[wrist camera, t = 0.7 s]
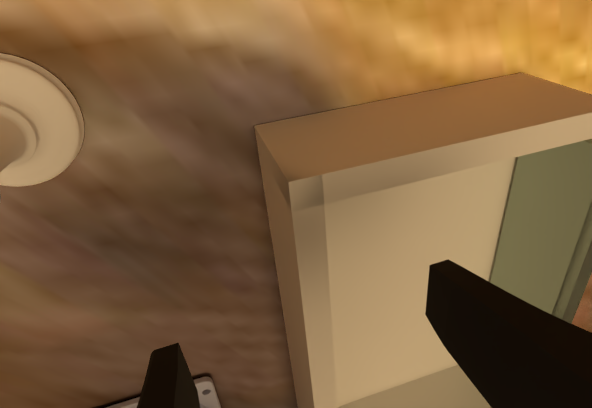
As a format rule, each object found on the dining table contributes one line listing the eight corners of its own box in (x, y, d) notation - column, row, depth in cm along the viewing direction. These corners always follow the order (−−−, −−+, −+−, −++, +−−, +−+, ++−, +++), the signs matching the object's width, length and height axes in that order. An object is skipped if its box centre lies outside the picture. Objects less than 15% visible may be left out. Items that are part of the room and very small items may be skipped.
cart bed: (465, 351, 33) (515, 414, 28) (297, 409, 30) (323, 489, 26) (522, 72, 21) (623, 105, 16) (254, 125, 18) (288, 182, 14)
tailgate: (482, 355, 31) (533, 417, 26) (473, 359, 30) (523, 422, 26) (541, 113, 20) (638, 153, 16) (527, 116, 20) (622, 157, 16)
